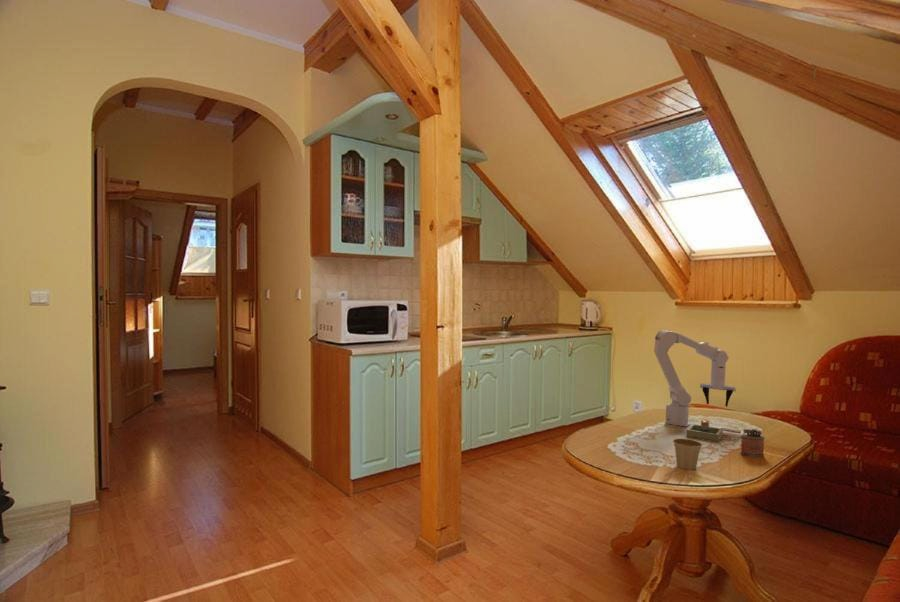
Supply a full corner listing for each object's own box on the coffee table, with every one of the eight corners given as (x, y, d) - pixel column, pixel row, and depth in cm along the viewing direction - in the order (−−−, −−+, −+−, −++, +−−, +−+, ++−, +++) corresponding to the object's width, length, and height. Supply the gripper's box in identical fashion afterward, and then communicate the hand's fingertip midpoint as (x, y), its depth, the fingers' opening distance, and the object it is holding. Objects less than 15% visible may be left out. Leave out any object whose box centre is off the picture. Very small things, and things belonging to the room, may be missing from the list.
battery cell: (699, 435, 217) (700, 421, 217) (701, 433, 219) (702, 419, 219) (707, 436, 215) (708, 422, 215) (709, 435, 217) (709, 420, 217)
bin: (686, 436, 216) (686, 429, 216) (692, 430, 225) (692, 424, 225) (718, 442, 209) (718, 434, 209) (722, 435, 218) (722, 428, 218)
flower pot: (694, 462, 182) (695, 438, 182) (706, 472, 173) (707, 446, 173) (667, 461, 183) (668, 437, 182) (678, 471, 173) (679, 445, 173)
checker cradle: (715, 433, 222) (715, 431, 222) (719, 428, 230) (719, 426, 230) (741, 437, 216) (741, 435, 216) (744, 432, 224) (744, 430, 224)
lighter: (761, 454, 193) (762, 428, 193) (765, 457, 190) (766, 431, 190) (738, 453, 194) (739, 427, 194) (742, 456, 191) (743, 429, 191)
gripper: (699, 375, 236) (698, 404, 236) (735, 378, 228) (734, 408, 228) (701, 373, 242) (700, 401, 242) (736, 376, 234) (735, 406, 234)
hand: (717, 405), depth 236 cm, fingers open, 7 cm apart
